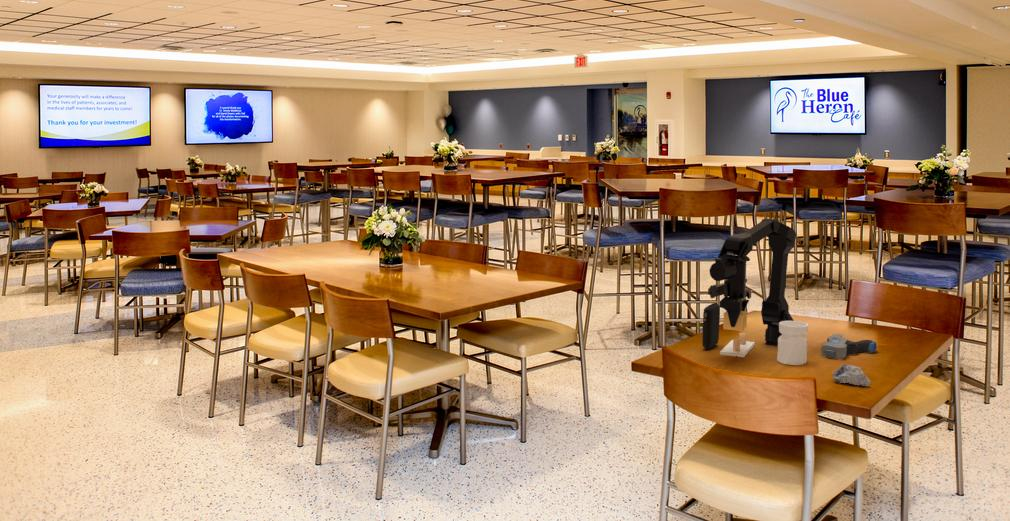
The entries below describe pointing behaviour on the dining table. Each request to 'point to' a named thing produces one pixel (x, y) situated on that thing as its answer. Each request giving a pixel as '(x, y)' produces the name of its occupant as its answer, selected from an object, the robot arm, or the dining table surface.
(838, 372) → the mineral specimen
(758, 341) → the dining table surface
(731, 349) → the plate
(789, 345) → the white plastic jar
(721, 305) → the robot arm
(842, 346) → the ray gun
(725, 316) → the tan block
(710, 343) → the carrying case or bag
